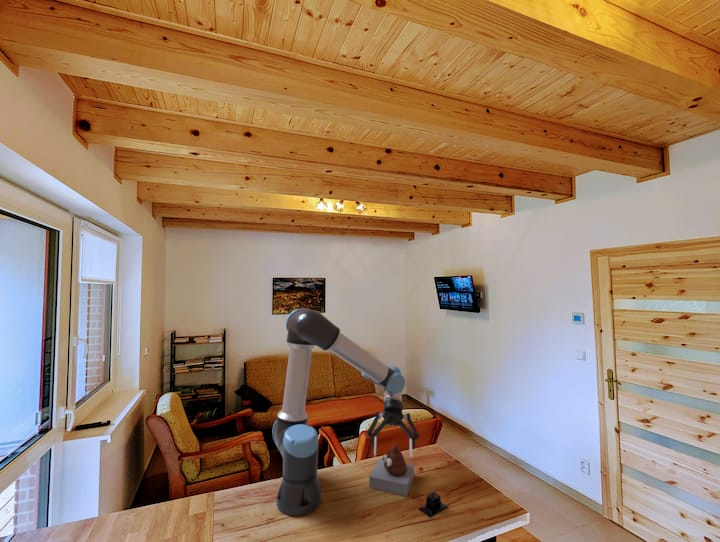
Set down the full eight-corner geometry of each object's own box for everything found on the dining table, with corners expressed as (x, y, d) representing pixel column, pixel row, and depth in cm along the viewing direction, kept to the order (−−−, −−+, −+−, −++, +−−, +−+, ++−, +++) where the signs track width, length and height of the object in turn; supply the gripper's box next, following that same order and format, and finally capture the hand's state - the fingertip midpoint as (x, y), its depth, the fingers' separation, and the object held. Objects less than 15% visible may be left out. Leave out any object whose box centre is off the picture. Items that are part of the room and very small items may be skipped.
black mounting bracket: (428, 524, 105) (428, 508, 105) (412, 511, 110) (412, 496, 111) (453, 508, 112) (453, 494, 112) (436, 497, 118) (437, 483, 118)
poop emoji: (410, 475, 123) (410, 449, 124) (389, 478, 121) (389, 452, 121) (399, 461, 133) (400, 437, 133) (379, 464, 130) (380, 440, 131)
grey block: (369, 487, 122) (369, 476, 122) (379, 468, 135) (380, 458, 135) (406, 496, 117) (407, 484, 117) (414, 475, 130) (414, 465, 130)
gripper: (422, 407, 141) (425, 462, 126) (363, 405, 143) (360, 458, 128) (423, 399, 136) (427, 455, 121) (363, 396, 138) (359, 451, 123)
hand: (393, 457), depth 124 cm, fingers open, 13 cm apart
